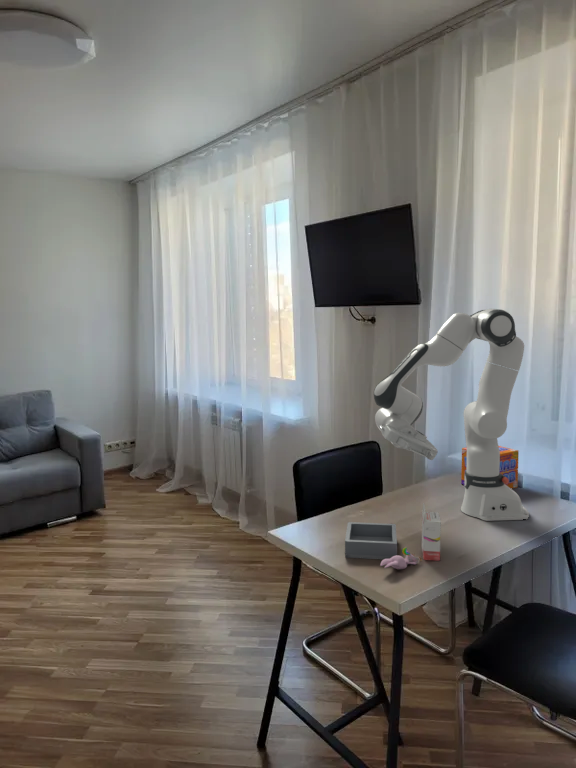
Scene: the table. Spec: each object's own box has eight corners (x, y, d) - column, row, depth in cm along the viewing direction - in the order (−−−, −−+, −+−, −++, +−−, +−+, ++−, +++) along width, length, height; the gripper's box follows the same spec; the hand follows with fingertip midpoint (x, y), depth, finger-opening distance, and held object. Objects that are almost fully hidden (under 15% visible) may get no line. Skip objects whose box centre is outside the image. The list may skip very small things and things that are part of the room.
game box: (491, 494, 214) (492, 455, 212) (460, 484, 227) (461, 447, 225) (517, 488, 221) (519, 450, 219) (486, 478, 235) (487, 442, 233)
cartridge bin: (395, 539, 174) (395, 524, 173) (396, 560, 159) (397, 543, 159) (348, 536, 176) (347, 522, 176) (345, 557, 162) (344, 541, 161)
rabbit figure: (408, 561, 161) (373, 568, 152) (410, 541, 161) (375, 547, 152) (425, 569, 156) (390, 576, 147) (428, 548, 156) (393, 555, 147)
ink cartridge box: (441, 561, 158) (441, 512, 156) (423, 560, 159) (423, 511, 157) (438, 548, 166) (438, 502, 164) (421, 548, 167) (421, 501, 165)
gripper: (382, 415, 182) (399, 433, 169) (428, 436, 190) (449, 455, 177) (372, 432, 183) (389, 450, 171) (419, 452, 191) (439, 471, 178)
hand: (420, 453), depth 174 cm, fingers open, 8 cm apart
